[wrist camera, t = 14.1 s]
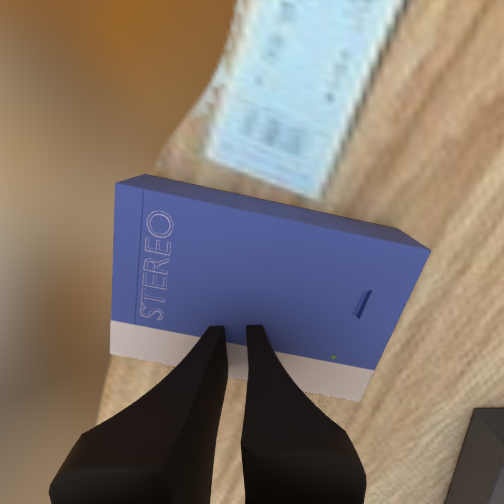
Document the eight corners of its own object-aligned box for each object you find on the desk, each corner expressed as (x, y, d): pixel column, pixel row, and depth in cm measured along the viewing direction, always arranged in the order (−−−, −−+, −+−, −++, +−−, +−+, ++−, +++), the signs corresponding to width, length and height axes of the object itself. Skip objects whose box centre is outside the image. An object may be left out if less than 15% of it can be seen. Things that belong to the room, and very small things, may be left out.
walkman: (399, 228, 13) (136, 171, 12) (433, 251, 10) (103, 180, 10) (343, 360, 16) (128, 319, 15) (359, 404, 13) (101, 356, 13)
